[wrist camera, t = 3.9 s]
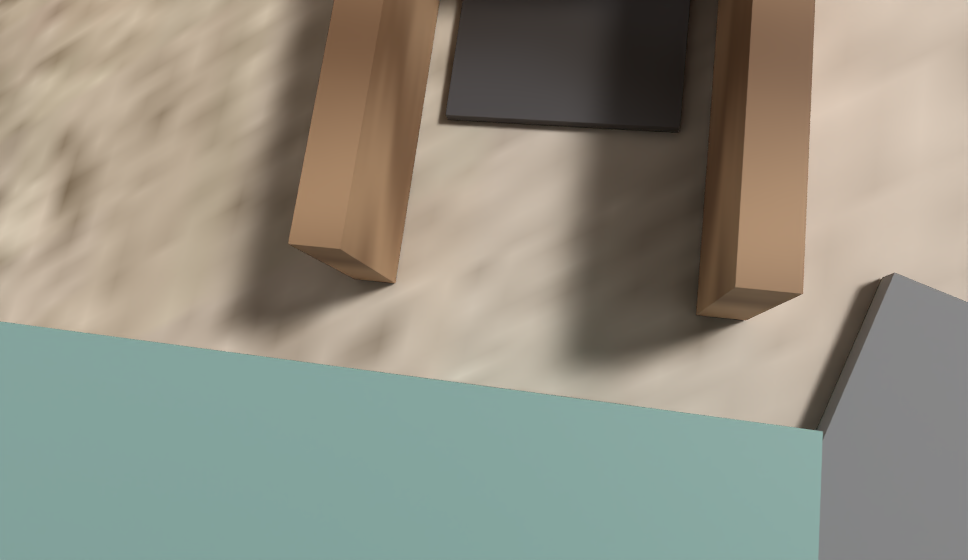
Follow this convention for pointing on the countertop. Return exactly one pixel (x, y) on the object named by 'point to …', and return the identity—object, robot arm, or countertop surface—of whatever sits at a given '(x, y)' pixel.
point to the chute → (568, 120)
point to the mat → (899, 432)
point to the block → (369, 465)
